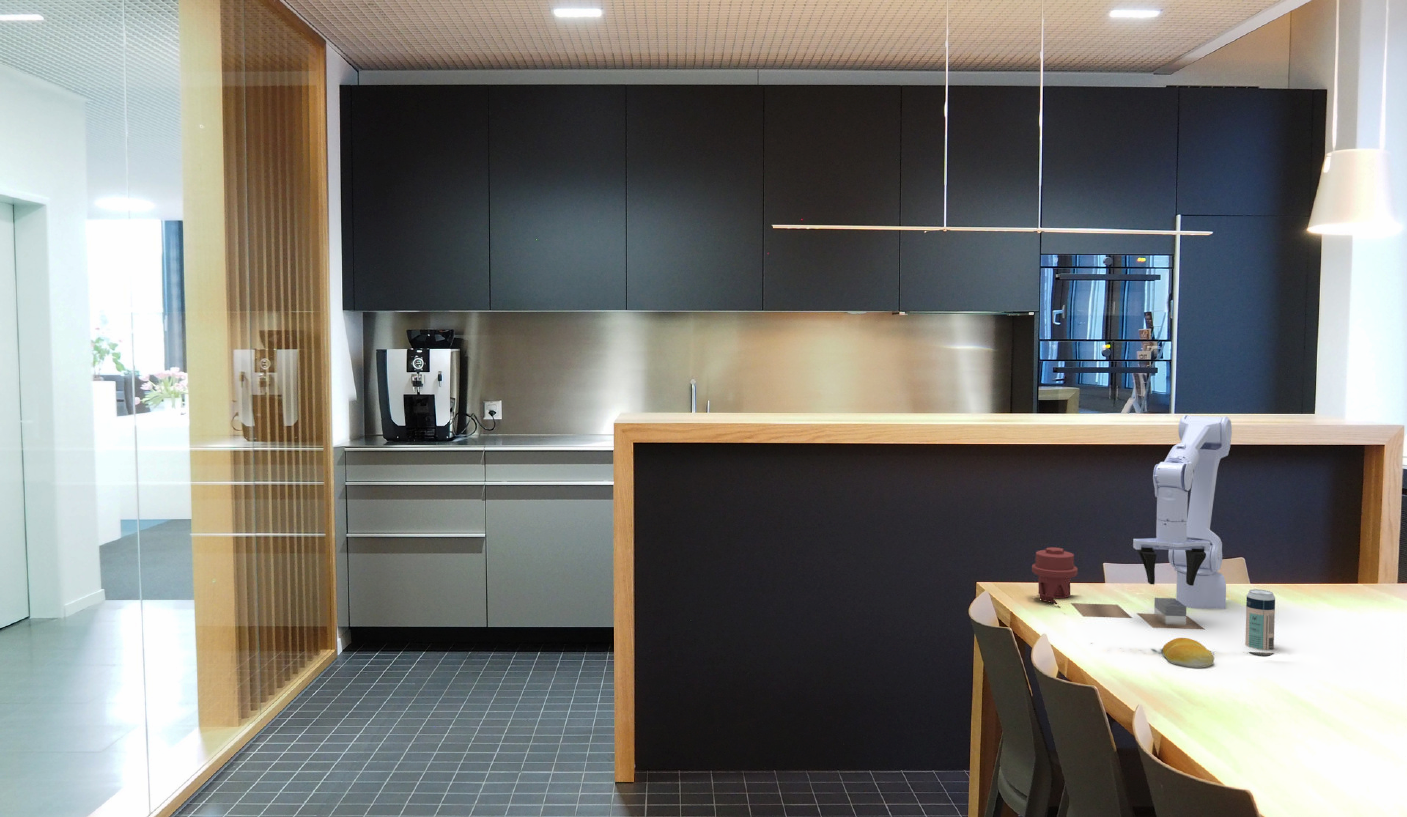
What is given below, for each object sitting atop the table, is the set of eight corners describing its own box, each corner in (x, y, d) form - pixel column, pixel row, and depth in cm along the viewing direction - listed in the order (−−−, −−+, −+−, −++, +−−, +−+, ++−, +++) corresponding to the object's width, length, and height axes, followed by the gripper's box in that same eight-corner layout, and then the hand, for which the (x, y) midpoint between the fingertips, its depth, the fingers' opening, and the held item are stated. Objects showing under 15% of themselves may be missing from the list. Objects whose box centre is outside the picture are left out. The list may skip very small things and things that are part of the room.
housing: (1174, 616, 200) (1174, 598, 200) (1185, 625, 193) (1186, 606, 193) (1154, 616, 201) (1154, 597, 200) (1165, 625, 194) (1165, 606, 193)
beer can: (1270, 651, 181) (1272, 589, 180) (1276, 658, 176) (1278, 595, 176) (1242, 648, 182) (1244, 587, 182) (1247, 656, 178) (1249, 593, 177)
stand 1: (1117, 611, 210) (1117, 604, 210) (1132, 624, 199) (1132, 617, 199) (1070, 609, 212) (1070, 603, 212) (1083, 623, 201) (1083, 616, 201)
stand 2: (1185, 621, 202) (1185, 614, 202) (1205, 636, 191) (1205, 629, 191) (1136, 620, 203) (1136, 613, 203) (1152, 634, 192) (1153, 627, 192)
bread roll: (1172, 668, 172) (1173, 646, 172) (1158, 653, 181) (1158, 633, 181) (1221, 670, 170) (1222, 649, 170) (1204, 655, 179) (1204, 635, 179)
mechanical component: (1067, 595, 224) (1083, 606, 214) (1025, 595, 225) (1039, 606, 215) (1068, 544, 224) (1084, 553, 214) (1026, 544, 224) (1040, 553, 214)
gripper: (1141, 522, 193) (1139, 587, 194) (1216, 523, 191) (1214, 589, 191) (1130, 516, 200) (1129, 579, 200) (1203, 517, 198) (1201, 581, 198)
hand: (1170, 584), depth 196 cm, fingers open, 7 cm apart
